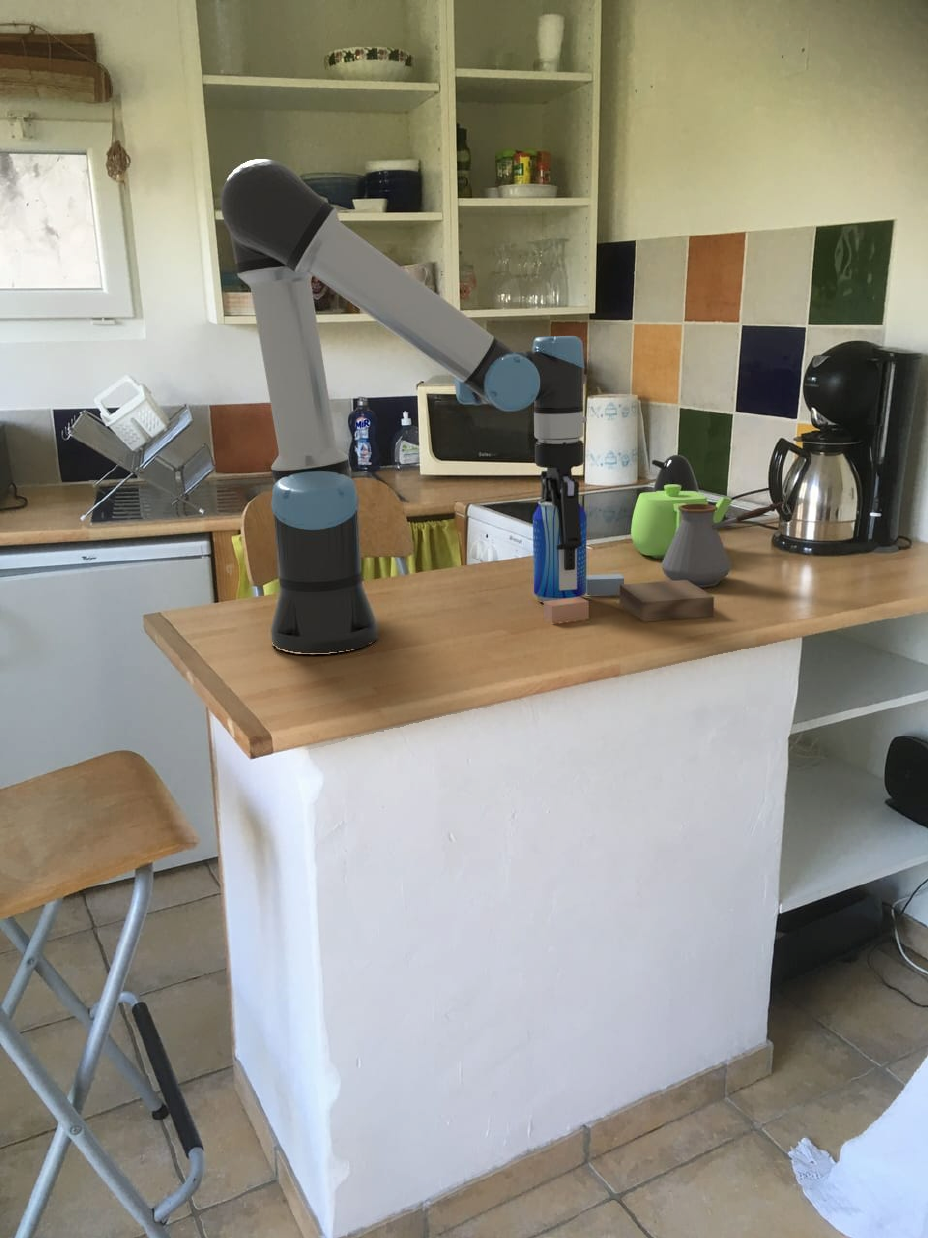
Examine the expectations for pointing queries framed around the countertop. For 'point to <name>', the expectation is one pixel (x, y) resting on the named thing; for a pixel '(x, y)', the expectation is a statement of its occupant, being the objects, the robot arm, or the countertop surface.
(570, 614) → the terracotta brick
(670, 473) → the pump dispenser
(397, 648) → the countertop surface
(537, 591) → the beer can
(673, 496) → the teapot
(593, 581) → the greyblue brick
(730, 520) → the coffee pot
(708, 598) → the walnut slab
